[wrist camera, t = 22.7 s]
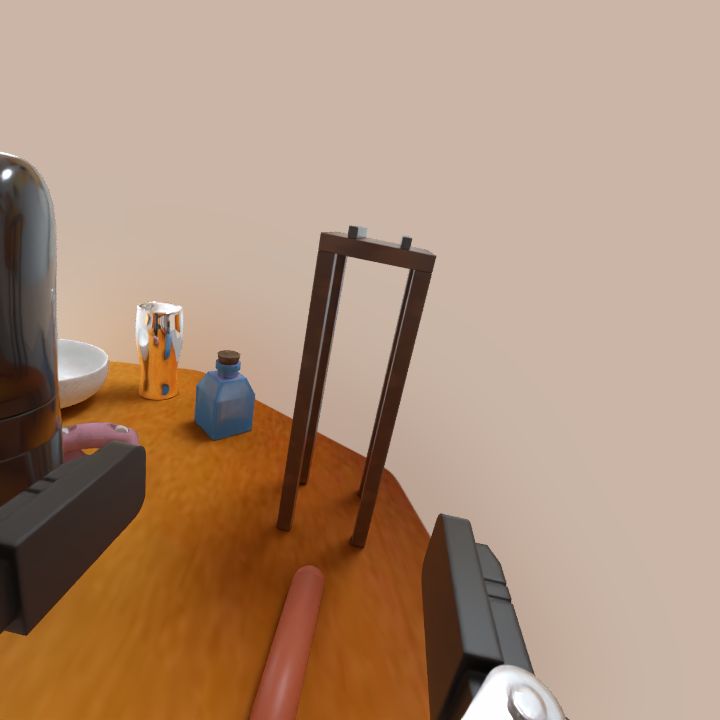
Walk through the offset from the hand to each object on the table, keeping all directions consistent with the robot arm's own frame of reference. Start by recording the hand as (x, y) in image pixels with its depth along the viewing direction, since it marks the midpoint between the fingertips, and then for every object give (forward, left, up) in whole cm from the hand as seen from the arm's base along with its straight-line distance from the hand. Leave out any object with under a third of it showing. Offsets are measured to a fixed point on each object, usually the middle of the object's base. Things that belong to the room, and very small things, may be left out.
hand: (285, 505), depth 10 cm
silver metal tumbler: (-33, +50, -26) cm, 65 cm away
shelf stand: (0, +31, -26) cm, 41 cm away
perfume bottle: (-19, +44, -26) cm, 55 cm away
